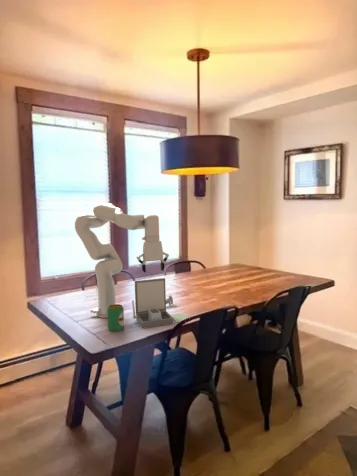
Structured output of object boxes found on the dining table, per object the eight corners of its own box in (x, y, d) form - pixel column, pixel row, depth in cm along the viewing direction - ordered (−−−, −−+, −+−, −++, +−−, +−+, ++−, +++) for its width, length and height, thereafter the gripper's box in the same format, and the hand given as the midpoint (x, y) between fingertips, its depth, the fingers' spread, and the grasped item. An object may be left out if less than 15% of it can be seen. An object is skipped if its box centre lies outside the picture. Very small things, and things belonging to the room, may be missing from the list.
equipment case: (138, 328, 183) (136, 287, 180) (132, 319, 197) (130, 281, 195) (173, 323, 189) (172, 283, 186) (165, 315, 203) (164, 278, 201)
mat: (176, 322, 191) (176, 321, 191) (169, 315, 203) (169, 314, 203) (190, 320, 193) (190, 319, 193) (182, 313, 205) (182, 313, 205)
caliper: (171, 304, 225) (171, 294, 225) (173, 304, 225) (172, 294, 224) (148, 312, 210) (147, 302, 210) (149, 312, 209) (149, 302, 209)
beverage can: (119, 332, 178) (118, 309, 177) (105, 331, 181) (104, 307, 180) (127, 327, 185) (126, 304, 184) (113, 325, 188) (112, 303, 187)
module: (152, 325, 188) (151, 313, 187) (148, 320, 196) (148, 309, 195) (161, 323, 190) (161, 312, 189) (157, 319, 197) (157, 308, 196)
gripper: (137, 240, 182) (138, 274, 183) (170, 238, 187) (171, 270, 189) (134, 239, 189) (135, 271, 190) (166, 237, 194) (167, 268, 196)
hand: (153, 271), depth 190 cm, fingers open, 9 cm apart
